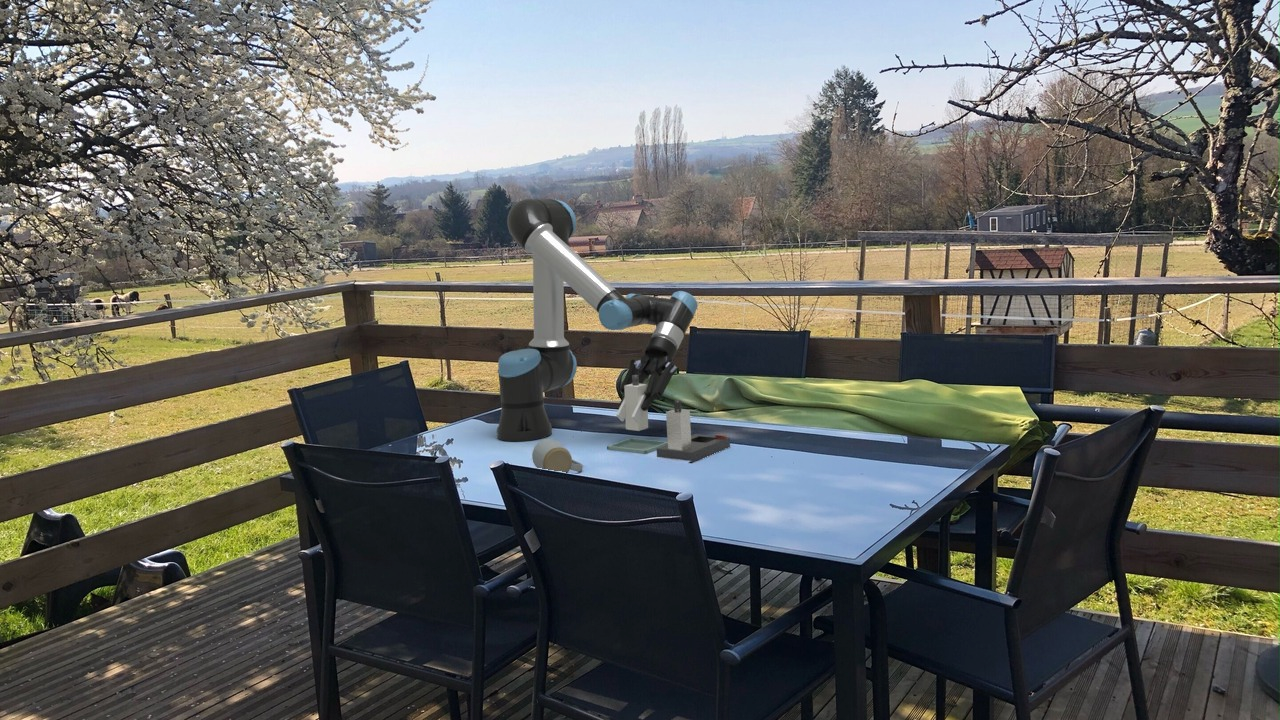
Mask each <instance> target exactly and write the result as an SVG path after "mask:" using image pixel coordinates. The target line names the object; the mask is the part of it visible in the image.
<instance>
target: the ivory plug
mask: <svg viewBox="0 0 1280 720" xmlns="http://www.w3.org/2000/svg"><path fill="white" fill-rule="evenodd" d="M647 387H648V383H642V384H639V375H632V384H629V385H625V386H624V391H625V419H624V421H625V430H628V431H634V432H635V431H637V432H640V431H643V430H647V429H649V412H648V410H649V409H648V410H647V411H644V413H643V416H642V418H641V420H640V422H639V423H636V422H635V421H634V420H633V418H632V417H631V416H632V414H633V412H634V410H635V408H636V406H637V404H638V402H639V400H640V398H641V396H642V395H645V394H644V392H646V390H647ZM645 397H646V395H645Z"/></svg>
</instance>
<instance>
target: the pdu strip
mask: <svg viewBox="0 0 1280 720" xmlns="http://www.w3.org/2000/svg"><path fill="white" fill-rule="evenodd" d="M673 407H674V409H671V410H668V411H666V412H665V416H666V419H665V420H666V435H667V442H668V445H665V446H662V447H660V448H657V450H656V457H657V458H664V459H665V458H667V459H672V460H673V459H674V460H681V461H682V460H683V461H688V463H689V464H694V463H696V462H699V461H702V460H703V458H704V459H706V458H708V457H711V456H713V455H715V454H717V453H716V452H718V453H720V452H722V451H721V450H723V449H725V448H727V449H729V448H728V447H730V448H731V442H730V441H731V440H730V439H731V438H730V437H729V436H727V435H726V434H722V433H721V434H719V433H718V434H715V435H710V434H709V435H707V434H698V433H695V434H692V429H691V427H692V426H691V411H690V410H691V409H683V408H682V400H680V399H678V400H676V399H675V400H673ZM725 450H726V449H725ZM719 451H720V452H719ZM723 451H724V450H723ZM714 453H715V454H714ZM712 454H713V455H712ZM710 455H711V456H710ZM707 456H708V457H707ZM705 457H706V458H705Z"/></svg>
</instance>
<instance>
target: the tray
mask: <svg viewBox="0 0 1280 720" xmlns="http://www.w3.org/2000/svg"><path fill="white" fill-rule="evenodd" d="M665 445H668V441H665V440H664V441H663V440H656V439H655V440H654V439H653V440H652V439H644V438H635V437H634V438H633V437H630V438H626V439H624V440H621V441H618V442H616V443H612V444H609V445H607V446H606V450H608V451H615V452H624V453H632V454H640V455H641V454H642V455H647V454H650V453H653V452H657V448H660V447H662V446H665Z"/></svg>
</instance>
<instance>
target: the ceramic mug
mask: <svg viewBox="0 0 1280 720" xmlns="http://www.w3.org/2000/svg"><path fill="white" fill-rule="evenodd" d="M531 455H532V458H531V459H532V463H533V465H534V466H535V467H536V468H537V469H538V468H542V469H548V470H554V471H562V472H567V473H569V471H570V470H571V471H576V472H582V470H583V467H584V465H583V464H582V463H580V462H578V461H576V460H574V459H573V457H572V455H571V452H570V451H569V450H568V449H567V447H565V446H564V445H562V444H561V443H560V442H559V441H558V440H556V439H553V438H545V439H542V440H540V441H539V442H537V443H536V445H535V446H534V447H533V450H532V454H531Z"/></svg>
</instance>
